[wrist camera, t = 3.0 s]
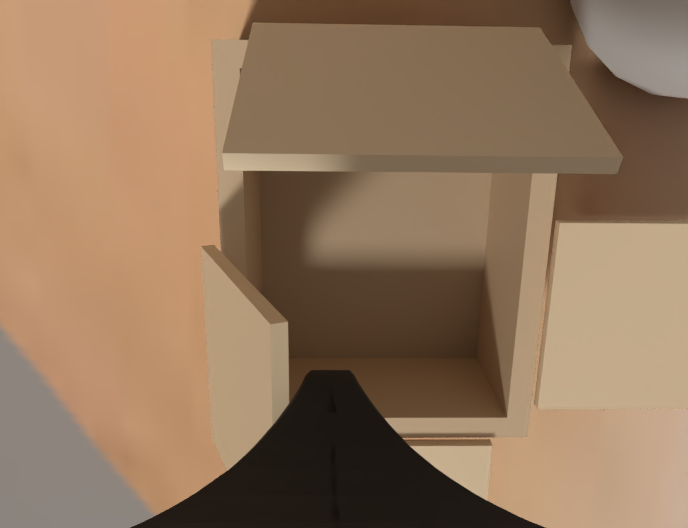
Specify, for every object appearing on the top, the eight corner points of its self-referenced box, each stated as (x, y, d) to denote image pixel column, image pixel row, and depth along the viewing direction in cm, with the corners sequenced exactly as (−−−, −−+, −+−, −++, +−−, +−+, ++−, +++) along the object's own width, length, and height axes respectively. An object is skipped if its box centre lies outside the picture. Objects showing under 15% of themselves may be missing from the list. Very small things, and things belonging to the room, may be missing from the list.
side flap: (287, 321, 10) (270, 324, 10) (291, 572, 12) (276, 577, 11) (214, 244, 14) (200, 246, 14) (223, 434, 16) (211, 437, 16)
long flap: (617, 174, 10) (623, 157, 9) (224, 170, 9) (221, 153, 9) (536, 41, 13) (540, 27, 13) (253, 36, 13) (252, 22, 13)
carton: (592, 498, 22) (651, 593, 18) (252, 500, 22) (235, 598, 18) (661, 52, 18) (760, 47, 14) (236, 46, 17) (209, 38, 13)
